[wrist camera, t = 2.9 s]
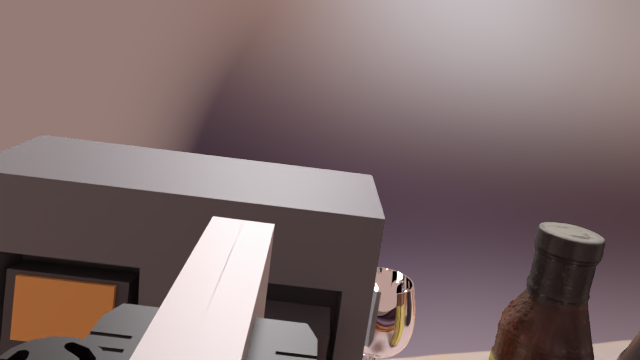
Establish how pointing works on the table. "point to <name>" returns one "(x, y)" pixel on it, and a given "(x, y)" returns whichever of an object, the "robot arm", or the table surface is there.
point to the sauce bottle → (553, 299)
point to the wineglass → (390, 315)
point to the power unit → (193, 221)
